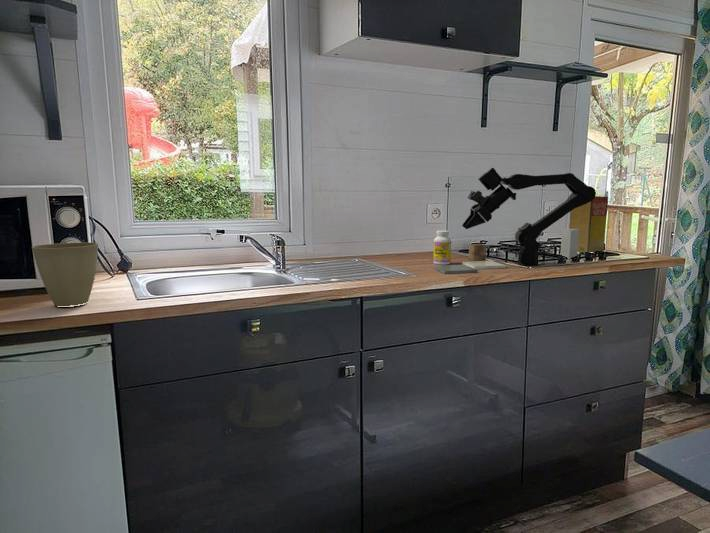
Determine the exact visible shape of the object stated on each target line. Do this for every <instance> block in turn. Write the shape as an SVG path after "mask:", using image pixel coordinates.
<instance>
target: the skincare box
mask: <svg viewBox="0 0 710 533" xmlns="http://www.w3.org/2000/svg"><path fill="white" fill-rule="evenodd" d="M578 236H579V229H569V228H566V229H562V230H561V238H560V243H561V244H560V251H559V252H560V253H559V254H560V255H562V256H565V257H567V258H568V259H567V260H572V259H571V258H572V257H575V256H577V257H578V253H577V250H578Z"/></svg>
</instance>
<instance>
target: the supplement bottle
mask: <svg viewBox="0 0 710 533" xmlns="http://www.w3.org/2000/svg"><path fill="white" fill-rule="evenodd" d="M449 235H450V231H449V230H436V237H435V238H434V239H433V264H435V265H437V266H440V265H451V259H452V239H451V238H450V237H449Z"/></svg>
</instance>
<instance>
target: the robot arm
mask: <svg viewBox="0 0 710 533" xmlns="http://www.w3.org/2000/svg"><path fill="white" fill-rule="evenodd" d="M477 180H478V181H479V182H480V183H481V185H482V186H484V188H485V189H486V190H487V191H493V192H491V193H490V194H489V195H486V196H483V195H482V194H483V193H482V191H480V190H476V191H474V190H471V191H470V192H469V194H468V196H467V199H468V200H472V201H473V202H475V204H473V205H472V206H471V207H470V209H469V210H470V212H469V213H470V214H469V215H468V216H467V218H466V219H465V220H464V222H463V223H462V224H461V226H462V227H463V228H464V229H465V230H469V229H470V228H471V229H472V228H473V227H476V226H479V225H483V224H486V223H489V221H491V220H492V217H493V215H492V214H493V213H494V212H495V211H496V210H498V209H500V208H501V206H502V205H503V204H505V202H506V201H509V199H511V200H513V201H516V200H517V194H518V193H517V192H513V191H512V190H514V191H516V190H517V191H519V190H522V189H527V188H532V187H535V186H536V187H537V186H550V185H551V186H552V185H565V187H566V188H568V190H569V192H571V194H570V195H569V196H568V197H567V199H566V200H564V202H562V203H561V204H559V205H558V206H556V207H555V208H553V209H552V210H550V211H549V212H548V213H546V215H544V216H542V217H541V218H539V219H538V220H537V221H535V222H534V223H530V222H525V223H524V224H523V225H522V226H521V227H518V228H517V231H516V232H515V234H514V239H515V241H516V242H517V243H518V244H519V246H520V248H519V251H518V253H517V262H516V264H519V265H520V266H525V267H529V266H531V267H533V266H541V263H539V257H540V256H539V254H540V247H541V244H540V242H538V240H537V239H538V238H539V236H540V235H541V234H542V233H543V231H545V230H546V229H548V228H549V227H551V226H552V225H553V224H554V223H556V222H558V221H559V220H560V219H562V218H563V217H564V216H566V215H567V214H570V211H572V210H573V209H575V208H577V207H580V206H582V205H585V204H587V203H589V202H591V201H592V200H594V199H595V196H597V191H596V189H595V188H594V187H592V186H590V185H587V183H585V182H584V181H582V180H581V179H580V178H578V177H577V176H576V175H574V173H572V172H565V173H559V174H545V175H543V174H541V175H531V174H530V175H529V174H523V173H522V174H521V173H517V174H515V173H514V174H511V175H510V176H509V177H501V176H500V174H499V173H498V171H496V169H495V168H494V167H491V168H490V169H489V170H487V171H486V172H484V173H483V174H482V175H480V177H479V178H478V179H477ZM504 185H505V186H508V187H505V186H504Z"/></svg>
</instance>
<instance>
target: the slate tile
mask: <svg viewBox="0 0 710 533" xmlns="http://www.w3.org/2000/svg"><path fill="white" fill-rule="evenodd" d="M432 268H433V269H434V270H435V271H437V272H440V273H441V274H444V275H452V274H454V273H456V274H475V273H476V274H477V273H478V269H474V268H472V267H469V266H466V265H463V264H448V265H433V266H432Z"/></svg>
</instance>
